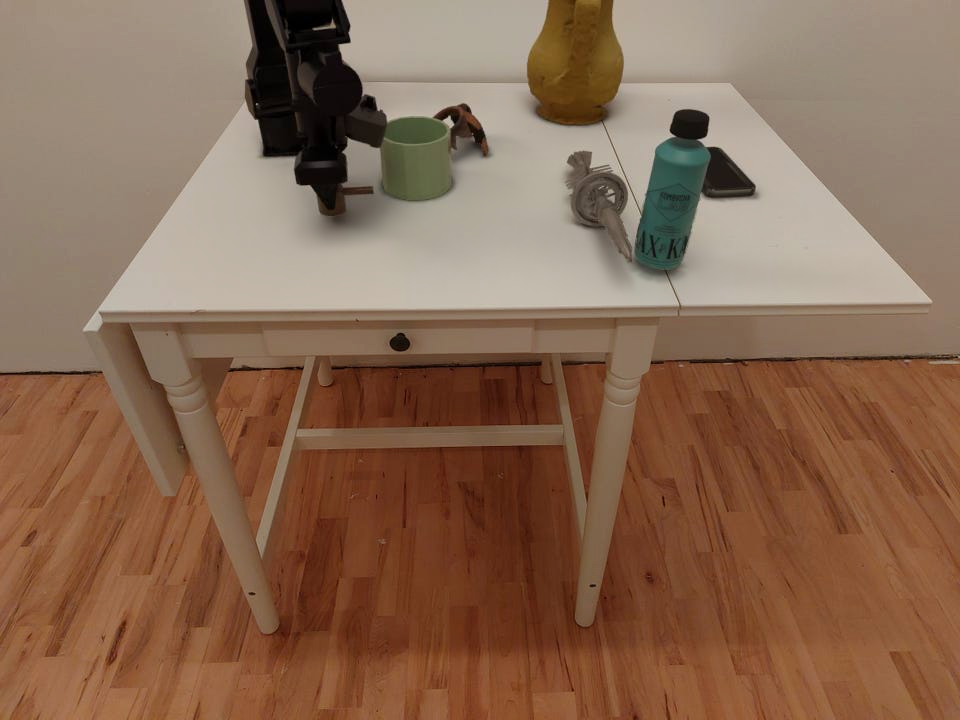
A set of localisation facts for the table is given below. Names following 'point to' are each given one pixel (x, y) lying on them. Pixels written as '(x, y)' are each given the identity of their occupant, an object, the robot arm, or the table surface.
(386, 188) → the green round container
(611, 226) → the spaceship
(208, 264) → the table surface
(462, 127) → the gnarled wooden root
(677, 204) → the beverage bottle
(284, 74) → the robot arm
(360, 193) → the scoop
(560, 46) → the pitcher
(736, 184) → the phone
